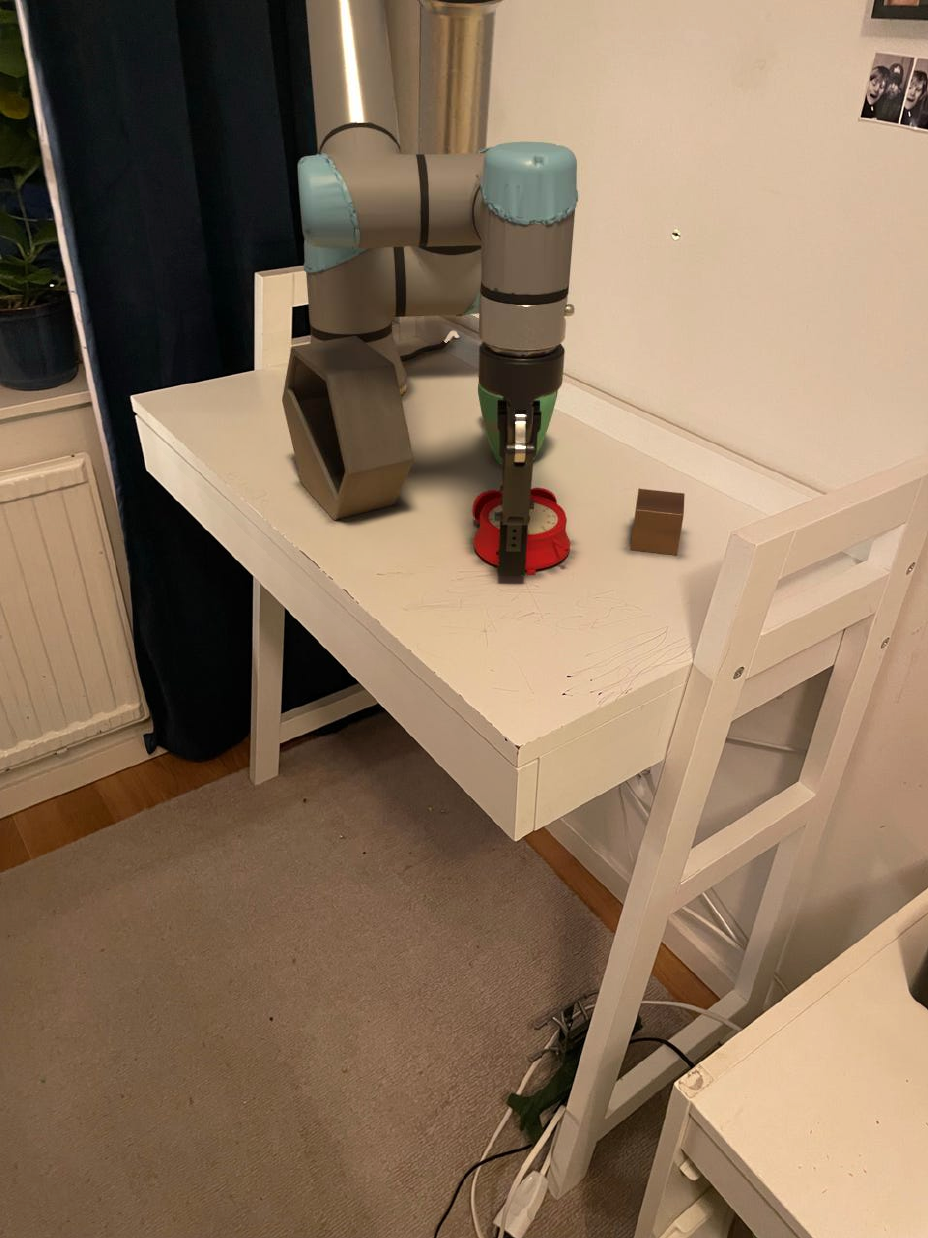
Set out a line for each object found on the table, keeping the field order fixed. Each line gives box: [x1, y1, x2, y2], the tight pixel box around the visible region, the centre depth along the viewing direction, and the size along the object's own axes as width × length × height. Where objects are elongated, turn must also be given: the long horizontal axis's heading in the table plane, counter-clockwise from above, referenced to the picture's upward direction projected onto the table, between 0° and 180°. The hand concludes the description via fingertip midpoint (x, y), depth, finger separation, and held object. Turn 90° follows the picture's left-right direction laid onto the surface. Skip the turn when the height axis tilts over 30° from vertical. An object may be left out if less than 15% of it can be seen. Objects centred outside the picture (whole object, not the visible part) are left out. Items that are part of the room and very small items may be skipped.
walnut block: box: [630, 488, 686, 556], centre depth 102 cm, size 5×5×5 cm
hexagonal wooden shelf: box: [281, 336, 414, 521], centre depth 106 cm, size 17×8×21 cm
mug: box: [477, 382, 559, 466], centre depth 118 cm, size 15×10×10 cm
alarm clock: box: [471, 487, 571, 576], centre depth 102 cm, size 10×6×15 cm
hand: (511, 571), depth 95 cm, fingers closed
